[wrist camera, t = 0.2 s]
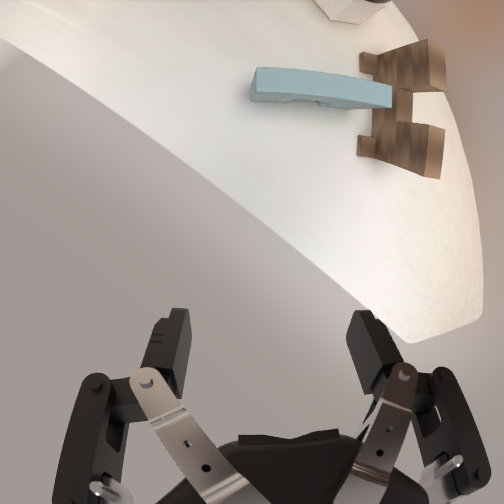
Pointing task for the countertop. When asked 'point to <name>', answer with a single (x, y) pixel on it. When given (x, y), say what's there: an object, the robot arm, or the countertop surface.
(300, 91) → the teal rectangular panel
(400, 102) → the brown wooden u-shaped piece
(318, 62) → the countertop surface
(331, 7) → the jar
